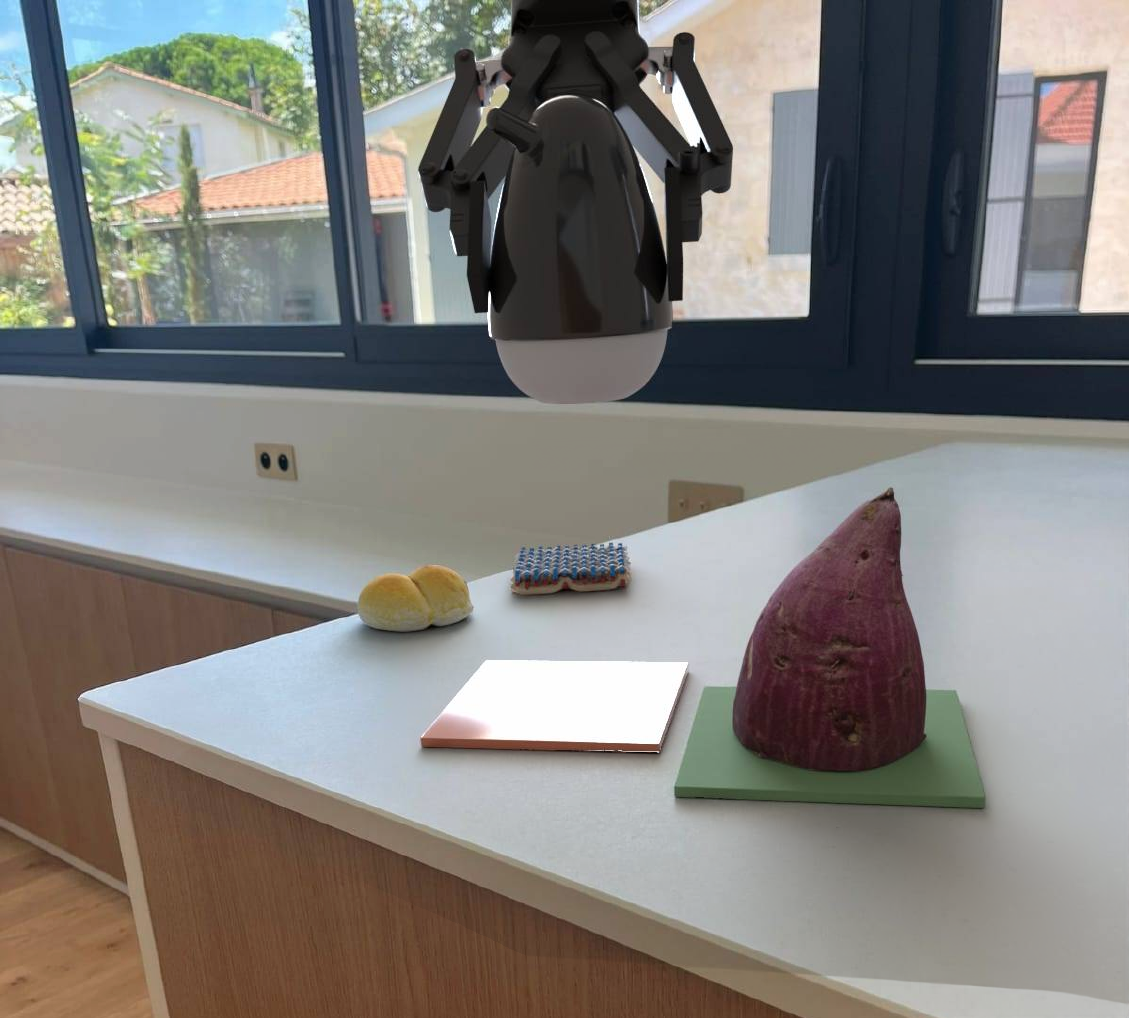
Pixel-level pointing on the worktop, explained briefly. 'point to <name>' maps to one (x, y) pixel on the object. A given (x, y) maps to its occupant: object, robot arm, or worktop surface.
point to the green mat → (914, 779)
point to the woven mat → (570, 569)
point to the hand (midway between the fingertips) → (576, 288)
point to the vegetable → (837, 655)
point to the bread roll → (415, 600)
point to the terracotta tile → (561, 706)
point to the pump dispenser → (576, 257)
